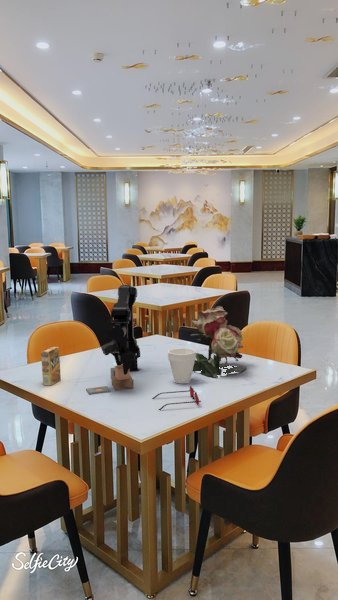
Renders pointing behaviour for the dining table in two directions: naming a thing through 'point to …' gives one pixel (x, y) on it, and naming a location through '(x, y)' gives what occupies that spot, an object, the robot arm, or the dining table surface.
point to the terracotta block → (121, 373)
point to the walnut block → (122, 383)
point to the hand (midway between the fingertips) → (122, 371)
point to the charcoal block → (112, 372)
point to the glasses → (184, 402)
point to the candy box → (50, 366)
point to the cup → (182, 363)
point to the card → (98, 390)
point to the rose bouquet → (217, 342)
